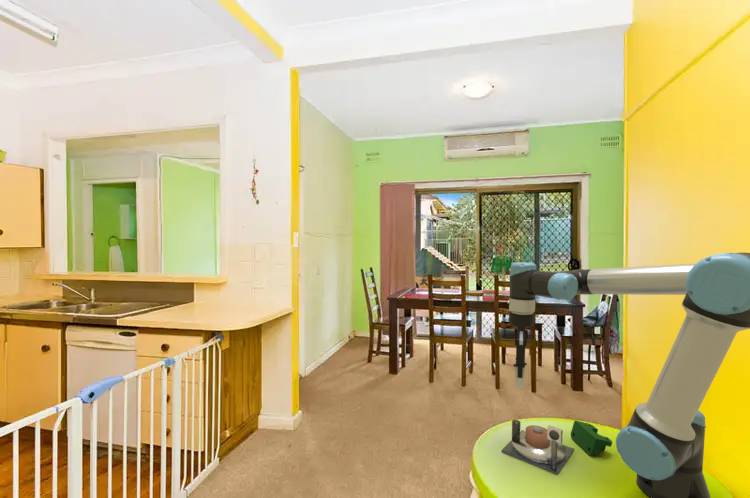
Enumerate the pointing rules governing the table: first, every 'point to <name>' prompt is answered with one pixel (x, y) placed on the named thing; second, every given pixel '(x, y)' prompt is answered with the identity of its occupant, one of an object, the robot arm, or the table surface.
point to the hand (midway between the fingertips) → (519, 386)
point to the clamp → (589, 438)
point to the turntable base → (540, 465)
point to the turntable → (532, 452)
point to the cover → (537, 437)
